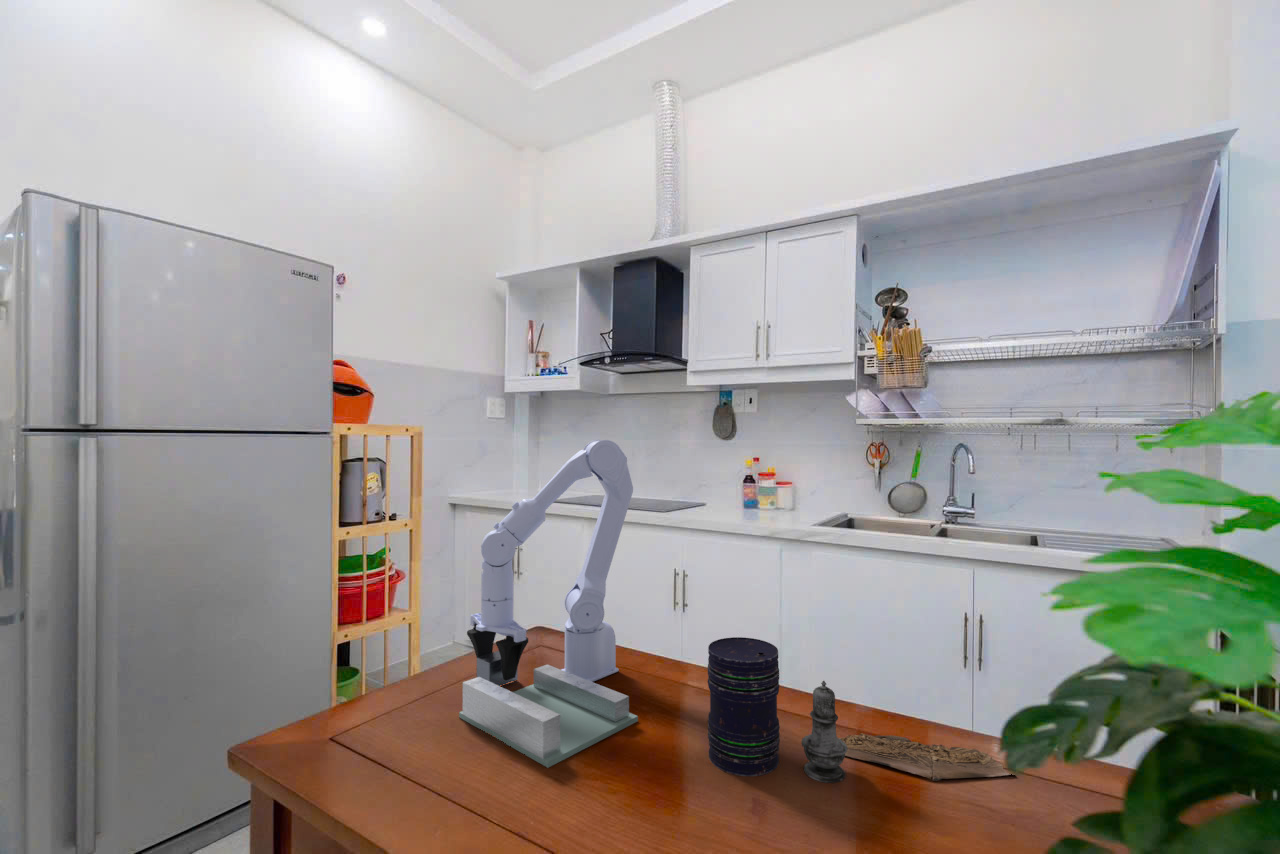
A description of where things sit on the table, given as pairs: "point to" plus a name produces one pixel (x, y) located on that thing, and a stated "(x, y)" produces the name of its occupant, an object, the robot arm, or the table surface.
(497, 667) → the steel block
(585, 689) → the bar
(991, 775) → the wooden fragment
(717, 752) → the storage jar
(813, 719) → the salt shaker
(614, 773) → the table surface
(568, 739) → the vise base
